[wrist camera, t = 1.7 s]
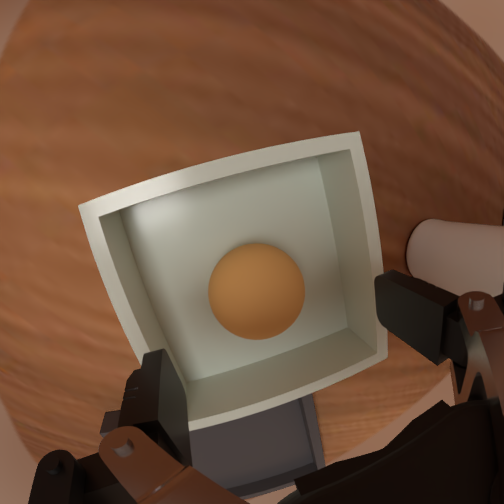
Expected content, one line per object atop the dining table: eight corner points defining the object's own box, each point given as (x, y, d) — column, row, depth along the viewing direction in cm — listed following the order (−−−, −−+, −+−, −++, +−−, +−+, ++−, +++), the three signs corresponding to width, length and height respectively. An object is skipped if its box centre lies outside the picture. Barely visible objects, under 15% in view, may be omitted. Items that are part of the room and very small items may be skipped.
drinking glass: (417, 302, 22) (552, 381, 8) (382, 252, 20) (562, 327, 6) (457, 247, 22) (590, 292, 8) (428, 192, 20) (594, 216, 6)
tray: (297, 361, 21) (309, 380, 18) (317, 456, 24) (326, 472, 22) (105, 412, 19) (99, 433, 16) (174, 494, 22) (175, 511, 20)
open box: (318, 143, 18) (359, 131, 13) (351, 326, 21) (387, 357, 16) (107, 200, 16) (78, 205, 11) (179, 385, 19) (180, 432, 14)
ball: (277, 225, 17) (310, 240, 12) (294, 301, 19) (327, 336, 14) (194, 250, 17) (196, 275, 12) (219, 325, 18) (230, 371, 13)
